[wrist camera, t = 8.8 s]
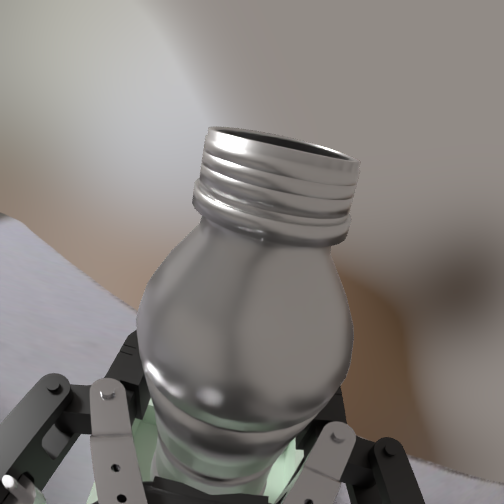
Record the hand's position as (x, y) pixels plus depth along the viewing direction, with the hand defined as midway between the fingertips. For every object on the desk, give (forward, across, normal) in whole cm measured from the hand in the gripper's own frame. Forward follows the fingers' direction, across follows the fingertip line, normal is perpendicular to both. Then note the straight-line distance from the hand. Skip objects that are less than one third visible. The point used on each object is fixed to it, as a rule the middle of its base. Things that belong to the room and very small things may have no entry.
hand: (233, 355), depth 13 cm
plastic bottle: (-2, 0, +11) cm, 11 cm away
